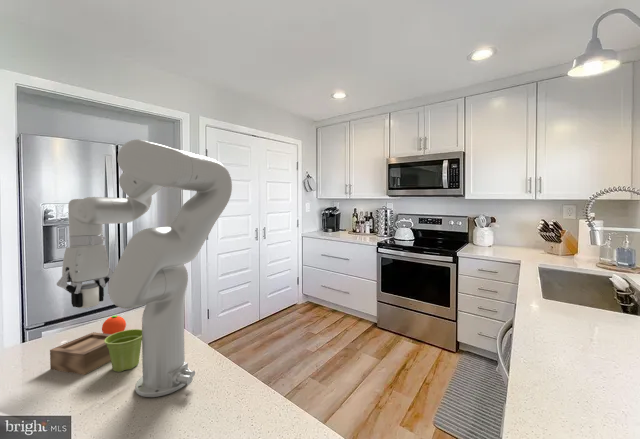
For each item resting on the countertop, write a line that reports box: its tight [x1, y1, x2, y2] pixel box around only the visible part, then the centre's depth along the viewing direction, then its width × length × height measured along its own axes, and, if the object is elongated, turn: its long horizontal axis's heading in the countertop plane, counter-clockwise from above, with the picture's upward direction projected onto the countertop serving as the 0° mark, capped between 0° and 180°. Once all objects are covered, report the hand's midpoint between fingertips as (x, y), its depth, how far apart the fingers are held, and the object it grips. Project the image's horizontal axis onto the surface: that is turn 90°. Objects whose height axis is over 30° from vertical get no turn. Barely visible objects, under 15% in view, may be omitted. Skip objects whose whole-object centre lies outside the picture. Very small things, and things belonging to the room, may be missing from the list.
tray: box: [49, 331, 112, 376], centre depth 83 cm, size 12×12×6 cm
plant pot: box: [104, 328, 142, 373], centre depth 80 cm, size 9×9×9 cm
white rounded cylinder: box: [76, 282, 100, 309], centre depth 83 cm, size 5×5×6 cm
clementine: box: [101, 315, 127, 334], centre depth 101 cm, size 8×7×7 cm
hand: (88, 303), depth 83 cm, fingers closed on white rounded cylinder, 5 cm apart
